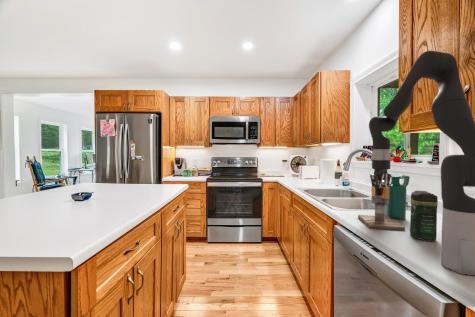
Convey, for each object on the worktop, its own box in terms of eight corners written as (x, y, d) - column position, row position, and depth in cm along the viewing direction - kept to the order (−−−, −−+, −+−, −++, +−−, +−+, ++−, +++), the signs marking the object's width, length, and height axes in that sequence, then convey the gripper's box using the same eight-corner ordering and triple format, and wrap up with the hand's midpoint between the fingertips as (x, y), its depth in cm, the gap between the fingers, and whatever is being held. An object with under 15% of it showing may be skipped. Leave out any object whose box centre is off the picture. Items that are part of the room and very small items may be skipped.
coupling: (393, 205, 112) (394, 187, 111) (379, 205, 111) (379, 187, 111) (379, 201, 121) (380, 184, 121) (366, 201, 120) (366, 185, 120)
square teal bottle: (388, 218, 125) (389, 175, 125) (382, 214, 133) (383, 174, 133) (410, 220, 123) (411, 176, 122) (403, 215, 131) (404, 174, 130)
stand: (404, 230, 106) (405, 208, 106) (369, 228, 109) (370, 207, 108) (387, 219, 123) (388, 200, 123) (358, 217, 126) (358, 199, 126)
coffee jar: (439, 243, 91) (441, 193, 91) (414, 240, 94) (415, 192, 94) (430, 235, 100) (431, 190, 100) (407, 232, 103) (408, 188, 103)
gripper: (380, 159, 108) (380, 198, 109) (397, 159, 115) (397, 195, 116) (364, 159, 115) (363, 195, 115) (381, 158, 122) (380, 193, 122)
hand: (380, 195), depth 115 cm, fingers closed on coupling, 3 cm apart
